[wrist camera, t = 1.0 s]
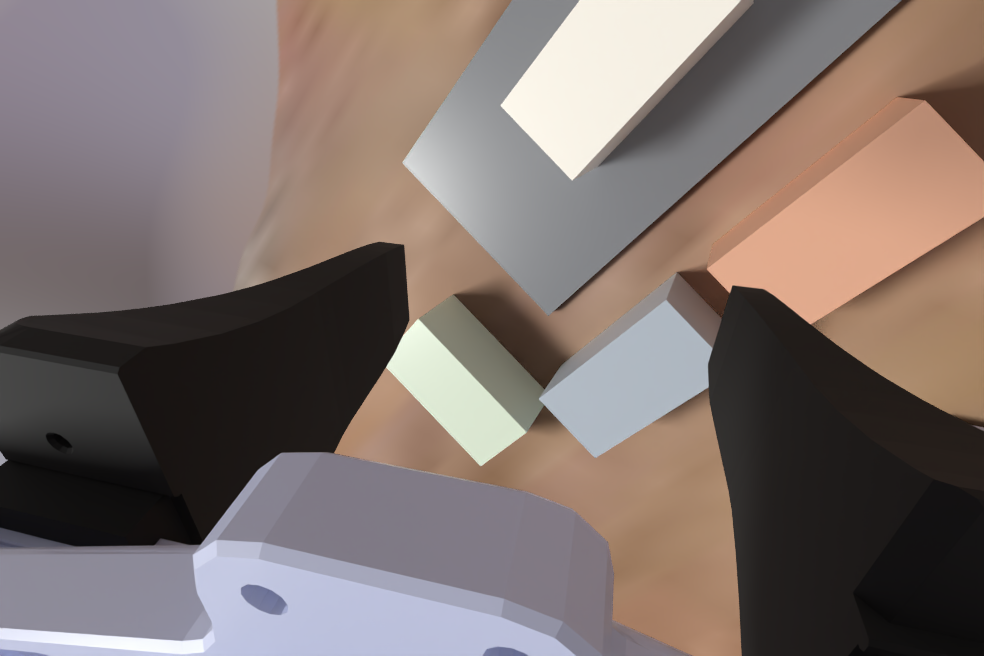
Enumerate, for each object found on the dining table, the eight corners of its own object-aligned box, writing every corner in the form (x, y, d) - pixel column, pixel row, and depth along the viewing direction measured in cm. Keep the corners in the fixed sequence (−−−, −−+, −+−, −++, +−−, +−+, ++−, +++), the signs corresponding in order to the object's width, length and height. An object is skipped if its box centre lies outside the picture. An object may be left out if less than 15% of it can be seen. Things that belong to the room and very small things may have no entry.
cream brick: (677, -77, 19) (661, -109, 16) (753, 3, 19) (753, -13, 16) (535, 102, 24) (500, 105, 21) (597, 166, 24) (572, 180, 21)
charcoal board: (783, -388, 16) (784, -403, 16) (1038, -124, 16) (1048, -131, 15) (408, 161, 28) (402, 162, 28) (551, 311, 28) (548, 315, 28)
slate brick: (677, 270, 25) (666, 299, 22) (736, 332, 25) (734, 371, 22) (562, 363, 29) (538, 398, 26) (612, 415, 29) (595, 458, 26)
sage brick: (418, 333, 33) (380, 361, 30) (454, 293, 31) (418, 318, 27) (508, 427, 33) (480, 466, 29) (551, 394, 31) (526, 432, 27)
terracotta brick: (895, 97, 19) (925, 100, 16) (971, 176, 19) (1017, 196, 16) (713, 242, 24) (706, 269, 21) (774, 307, 24) (778, 344, 21)
